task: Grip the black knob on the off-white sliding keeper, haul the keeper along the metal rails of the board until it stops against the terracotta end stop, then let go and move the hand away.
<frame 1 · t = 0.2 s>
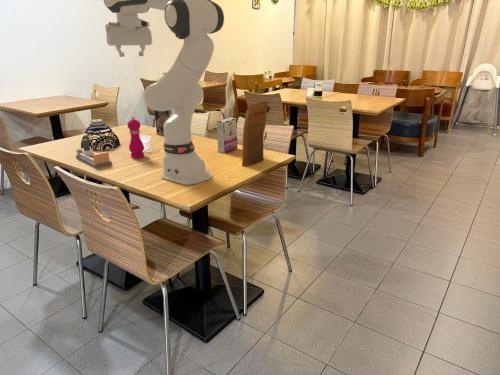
hand: (131, 56, 169), 48 cm above the table, tool pointing down, fingers open, 8 cm apart
coffee box: (165, 134, 236), on the table
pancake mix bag: (254, 162, 180), on the table
decorative bowl: (100, 146, 210), on the table
rail board: (93, 161, 183), on the table
pepper mill: (137, 156, 190), on the table
keeper: (86, 147, 185), point 6 cm above the table, slide at 6.0 cm
candy bar box: (227, 150, 200), on the table
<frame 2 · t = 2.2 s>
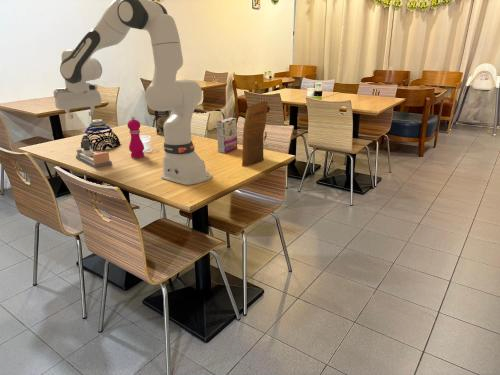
hand: (81, 117, 180), 21 cm above the table, tool pointing down, fingers open, 8 cm apart
nothing on the table moved.
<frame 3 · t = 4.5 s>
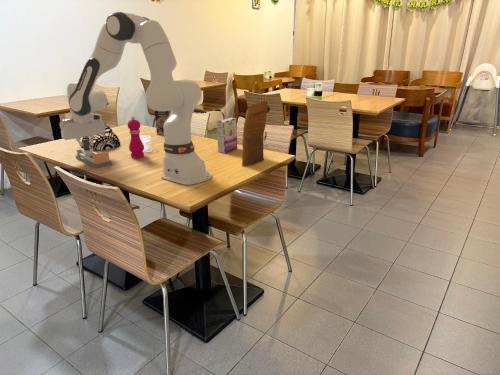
hand: (86, 145, 185), 7 cm above the table, tool pointing down, fingers closed on keeper, 3 cm apart
keeper: (86, 147, 185), point 6 cm above the table, slide at 6.0 cm, touching gripper
everything else where it was.
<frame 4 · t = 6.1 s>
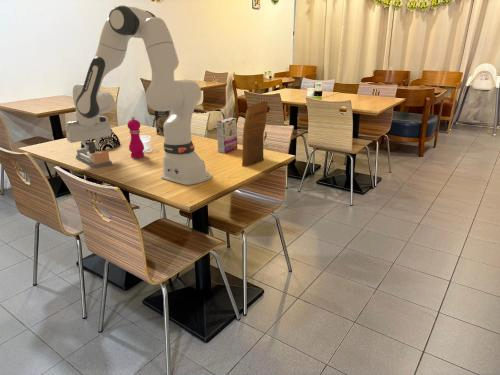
hand: (91, 148, 180), 6 cm above the table, tool pointing down, fingers closed on keeper, 3 cm apart
keeper: (92, 150, 181), point 6 cm above the table, slide at -0.3 cm, touching gripper
everything else where it was.
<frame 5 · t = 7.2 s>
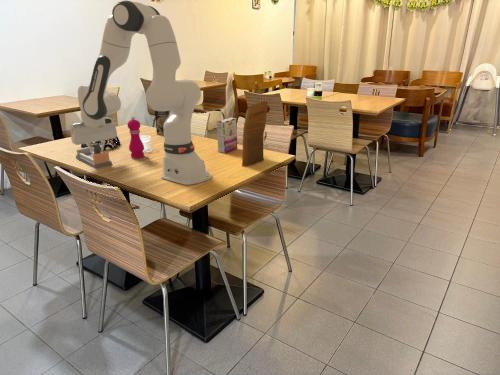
hand: (97, 150, 177), 6 cm above the table, tool pointing down, fingers closed on keeper, 3 cm apart
keeper: (97, 152, 177), point 6 cm above the table, slide at -5.9 cm, touching gripper
everything else where it was.
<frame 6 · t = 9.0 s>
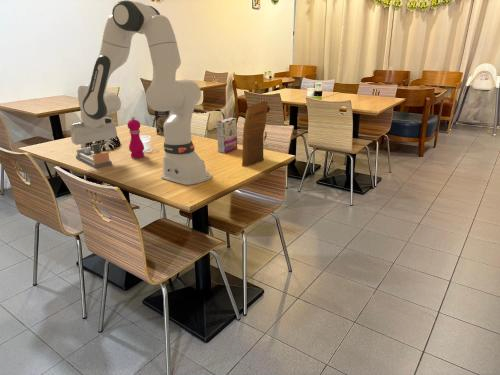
hand: (97, 150, 177), 7 cm above the table, tool pointing down, fingers open, 8 cm apart
keeper: (97, 152, 177), point 6 cm above the table, slide at -6.0 cm
everything else where it was.
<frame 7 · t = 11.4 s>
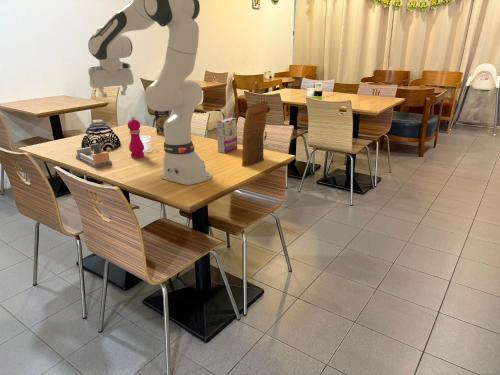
hand: (114, 96, 178), 30 cm above the table, tool pointing down, fingers open, 8 cm apart
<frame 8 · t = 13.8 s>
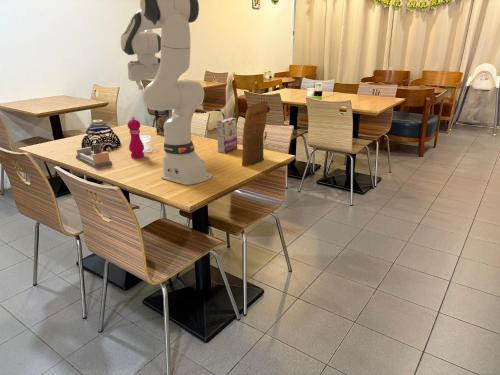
hand: (149, 88, 194), 31 cm above the table, tool pointing down, fingers open, 8 cm apart
at the end: keeper slide at -6.0 cm; the gripper is holding nothing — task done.
